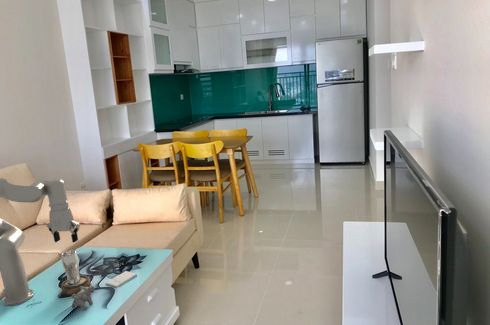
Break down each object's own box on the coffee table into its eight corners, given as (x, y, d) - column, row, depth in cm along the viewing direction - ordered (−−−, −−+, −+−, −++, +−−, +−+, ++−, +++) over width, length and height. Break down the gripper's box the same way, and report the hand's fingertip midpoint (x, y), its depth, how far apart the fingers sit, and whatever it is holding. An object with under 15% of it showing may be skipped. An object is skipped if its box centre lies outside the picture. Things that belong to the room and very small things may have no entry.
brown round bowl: (56, 295, 189) (54, 287, 188) (73, 280, 201) (72, 274, 200) (79, 296, 186) (78, 288, 185) (96, 281, 198) (95, 274, 197)
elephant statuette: (69, 313, 173) (65, 297, 171) (80, 296, 185) (77, 281, 182) (90, 311, 173) (87, 295, 171) (100, 295, 184) (97, 280, 182)
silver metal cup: (76, 286, 189) (70, 256, 185) (63, 285, 190) (57, 256, 187) (85, 278, 195) (79, 249, 192) (72, 278, 197) (66, 250, 193)
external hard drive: (137, 276, 200) (117, 289, 190) (126, 273, 204) (105, 285, 194) (136, 273, 200) (116, 285, 189) (125, 270, 204) (105, 282, 194)
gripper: (37, 209, 183) (45, 244, 187) (70, 208, 179) (77, 244, 182) (49, 203, 190) (56, 237, 194) (80, 203, 186) (87, 238, 190)
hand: (66, 241), depth 188 cm, fingers open, 9 cm apart
